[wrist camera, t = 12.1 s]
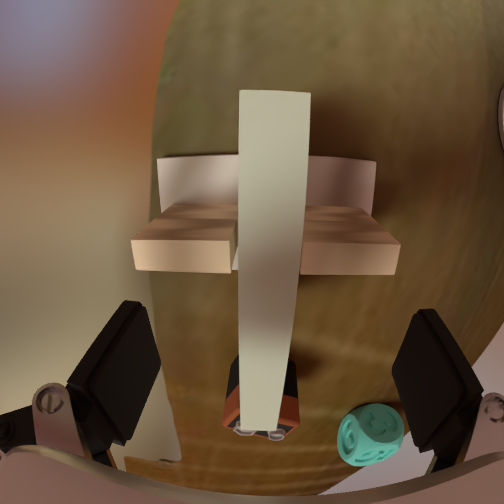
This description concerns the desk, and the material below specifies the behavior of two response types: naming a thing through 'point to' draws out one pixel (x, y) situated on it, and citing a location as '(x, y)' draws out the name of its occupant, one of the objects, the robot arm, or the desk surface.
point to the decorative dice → (370, 434)
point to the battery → (287, 409)
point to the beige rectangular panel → (269, 243)
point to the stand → (226, 219)
